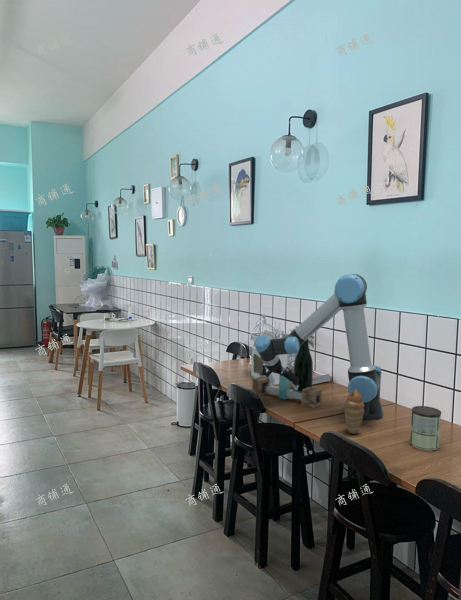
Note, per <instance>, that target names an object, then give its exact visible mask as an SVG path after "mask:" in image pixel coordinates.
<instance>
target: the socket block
mask: <svg viewBox="0 0 461 600" xmlns="http://www.w3.org/2000/svg"><path fill="white" fill-rule="evenodd" d="M263 384H268V385H270V381H269V380H268V378H267V377H265V376H260V377H257V378H254V377H253V378H252V385H251V386H252V387H251V388H252V389H251V390H252V391H254V392H255V393H256V394H257V395H258V396H257V395H256V396H257V397H261V396H264V395H267V394H271V393H270V392H265V391H262V390H263ZM252 391H251V392H252Z"/></svg>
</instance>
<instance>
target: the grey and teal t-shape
mask: <svg viewBox="0 0 461 600" xmlns="http://www.w3.org/2000/svg"><path fill="white" fill-rule="evenodd" d="M282 373H283V372H282ZM262 391H265V392H270V393H269V394H275V395H278V399H280V400H281V399H282V400H288V399H290V398H293V399H297V400H301V401H302V392H301V391H295V390H293V389H292V388H291V381H290V380H288V379H287V378H285V377H284V376H281V375H280V374H279V384H278V386H276V385H274V384H273V385H268V384H263V390H262Z"/></svg>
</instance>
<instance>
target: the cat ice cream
mask: <svg viewBox="0 0 461 600" xmlns="http://www.w3.org/2000/svg"><path fill="white" fill-rule="evenodd" d="M343 412H344V420H345V425H346V427H347V430H348V432H349V433H350V434H352V435H356V434H358V433H359V432H360V427H361V426H362V421H363V420H364V419H363V414H364V403H363V402H362V395H361V394H360V393H359V392H358V390H357V389H356V390H355V391H354V392H353V391H352V392H351V393H350V394H349V393H348V395H347V397H346V400H345V402H344V409H343Z"/></svg>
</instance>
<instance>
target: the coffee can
mask: <svg viewBox="0 0 461 600" xmlns="http://www.w3.org/2000/svg"><path fill="white" fill-rule="evenodd" d="M441 415H442V411H441V410H440V409H438V408H436V407H432V406H426V405H425V406H424V405H416V406H413V407H411V426H410V442H409V444H410V443H411V444H412V445H413V446H415V447H418V448H422V449H429V450H434V449H438V448H439V449H440V431H441V417H442V416H441ZM439 449H438V450H439Z"/></svg>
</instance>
